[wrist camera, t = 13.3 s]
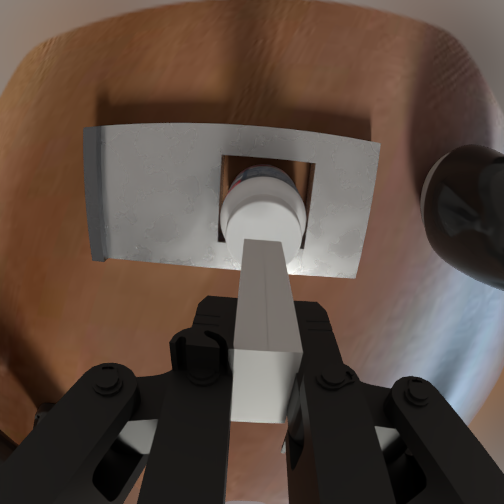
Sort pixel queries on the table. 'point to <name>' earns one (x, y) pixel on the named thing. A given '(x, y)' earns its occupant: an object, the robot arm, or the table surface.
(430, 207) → the pump dispenser
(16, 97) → the table surface
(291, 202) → the pill bottle
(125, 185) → the jig
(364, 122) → the table surface
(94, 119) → the table surface
